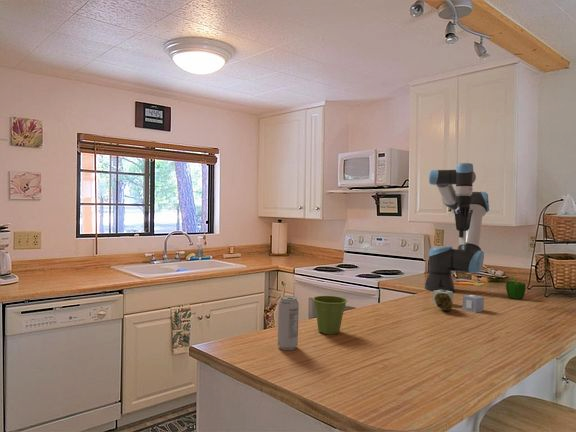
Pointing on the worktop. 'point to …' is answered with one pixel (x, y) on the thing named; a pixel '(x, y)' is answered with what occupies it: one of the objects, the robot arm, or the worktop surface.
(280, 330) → the energy drink can
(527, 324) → the worktop surface
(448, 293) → the sage block
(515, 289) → the bell pepper
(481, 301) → the slate blue block
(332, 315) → the plant pot
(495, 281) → the worktop surface
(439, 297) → the potato
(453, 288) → the robot arm
